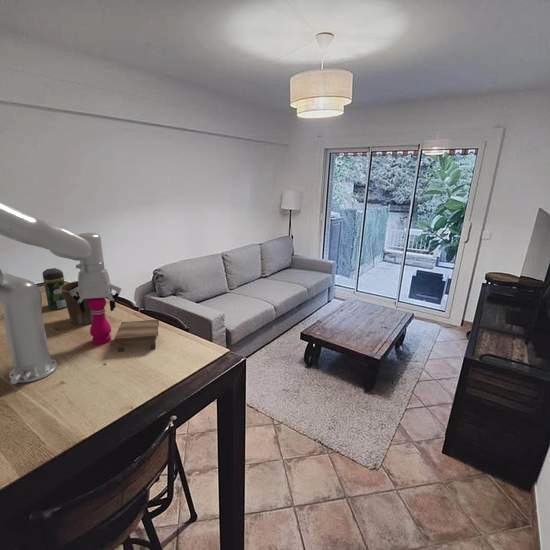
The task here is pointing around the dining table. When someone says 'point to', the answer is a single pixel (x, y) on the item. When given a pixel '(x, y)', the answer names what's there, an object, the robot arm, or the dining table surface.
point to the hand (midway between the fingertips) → (98, 310)
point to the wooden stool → (137, 333)
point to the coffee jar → (54, 288)
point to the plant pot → (76, 306)
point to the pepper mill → (99, 321)
